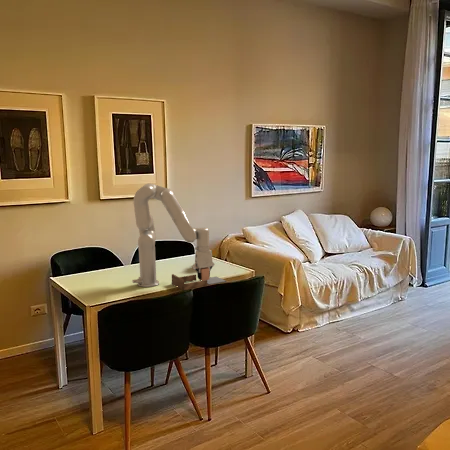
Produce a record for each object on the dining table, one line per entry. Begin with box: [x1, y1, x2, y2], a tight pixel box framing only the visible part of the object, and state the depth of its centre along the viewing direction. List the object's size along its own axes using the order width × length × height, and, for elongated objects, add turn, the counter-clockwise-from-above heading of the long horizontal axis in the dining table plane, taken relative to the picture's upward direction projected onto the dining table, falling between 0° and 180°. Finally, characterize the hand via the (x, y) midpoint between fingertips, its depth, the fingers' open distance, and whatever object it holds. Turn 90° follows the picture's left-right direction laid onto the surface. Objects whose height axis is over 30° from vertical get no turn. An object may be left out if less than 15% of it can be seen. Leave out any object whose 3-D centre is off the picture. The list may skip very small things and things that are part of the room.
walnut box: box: [171, 273, 208, 291], centre depth 274 cm, size 16×15×6 cm
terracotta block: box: [197, 267, 209, 281], centre depth 279 cm, size 5×5×7 cm
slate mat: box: [207, 276, 227, 286], centre depth 283 cm, size 12×12×1 cm
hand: (203, 277), depth 279 cm, fingers closed on terracotta block, 5 cm apart
